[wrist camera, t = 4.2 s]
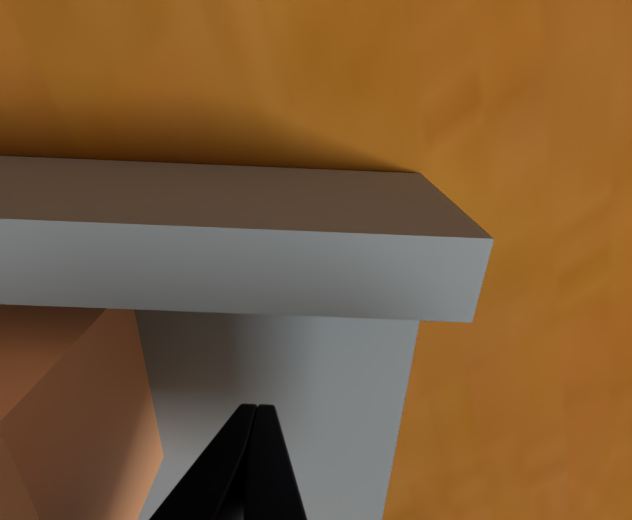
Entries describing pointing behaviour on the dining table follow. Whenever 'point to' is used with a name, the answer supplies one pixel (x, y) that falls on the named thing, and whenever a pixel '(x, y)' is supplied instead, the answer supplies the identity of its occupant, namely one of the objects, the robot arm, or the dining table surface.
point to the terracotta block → (74, 415)
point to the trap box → (253, 297)
